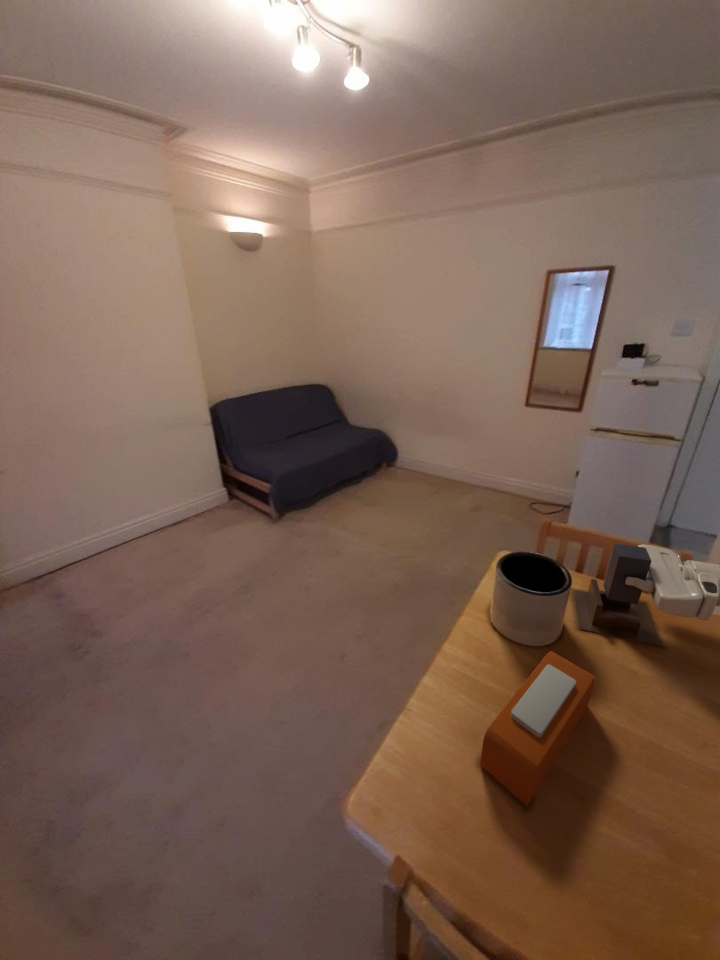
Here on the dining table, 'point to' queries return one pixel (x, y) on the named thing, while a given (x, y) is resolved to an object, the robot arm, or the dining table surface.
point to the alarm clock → (536, 725)
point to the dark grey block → (626, 572)
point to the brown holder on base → (614, 616)
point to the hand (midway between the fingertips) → (622, 570)
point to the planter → (530, 598)
